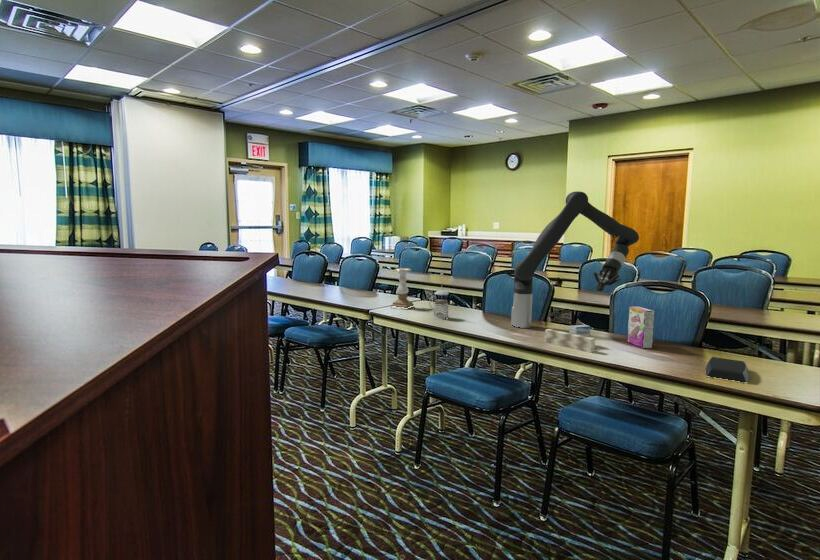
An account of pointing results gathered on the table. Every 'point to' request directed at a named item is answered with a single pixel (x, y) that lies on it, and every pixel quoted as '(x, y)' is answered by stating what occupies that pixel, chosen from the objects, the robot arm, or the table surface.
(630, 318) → the candy bar box
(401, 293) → the candle holder
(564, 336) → the birch board
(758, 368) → the table surface
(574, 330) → the medicine box
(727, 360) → the external hard drive
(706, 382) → the table surface
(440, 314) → the french press
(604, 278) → the robot arm
